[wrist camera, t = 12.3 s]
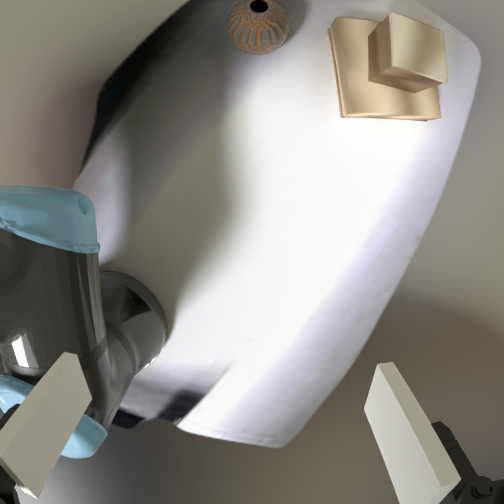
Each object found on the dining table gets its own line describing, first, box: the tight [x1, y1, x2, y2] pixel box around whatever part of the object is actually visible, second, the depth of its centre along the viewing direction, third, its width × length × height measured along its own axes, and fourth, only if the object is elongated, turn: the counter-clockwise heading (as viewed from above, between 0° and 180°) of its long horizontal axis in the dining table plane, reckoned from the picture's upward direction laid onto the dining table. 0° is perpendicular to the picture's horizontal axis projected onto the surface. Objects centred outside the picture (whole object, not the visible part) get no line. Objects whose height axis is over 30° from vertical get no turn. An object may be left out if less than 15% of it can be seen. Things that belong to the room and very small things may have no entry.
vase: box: [227, 0, 290, 55], centre depth 26 cm, size 7×7×9 cm
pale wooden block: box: [368, 12, 447, 94], centre depth 23 cm, size 6×6×7 cm
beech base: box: [328, 17, 441, 121], centre depth 29 cm, size 12×12×5 cm
